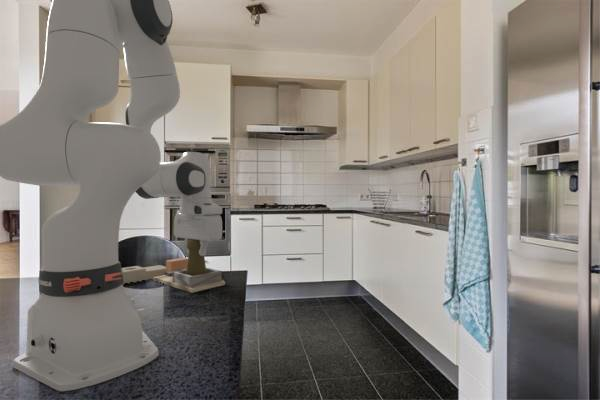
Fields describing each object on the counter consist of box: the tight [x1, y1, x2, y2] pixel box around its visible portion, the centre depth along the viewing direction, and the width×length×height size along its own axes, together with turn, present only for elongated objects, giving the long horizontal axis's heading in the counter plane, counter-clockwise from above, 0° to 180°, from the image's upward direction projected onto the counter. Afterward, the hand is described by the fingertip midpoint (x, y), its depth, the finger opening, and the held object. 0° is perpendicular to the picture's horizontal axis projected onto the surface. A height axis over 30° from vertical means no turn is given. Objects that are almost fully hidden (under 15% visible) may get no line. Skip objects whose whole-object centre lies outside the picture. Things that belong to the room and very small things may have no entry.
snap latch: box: [165, 257, 188, 271], centre depth 107 cm, size 3×6×3 cm, turn 140°
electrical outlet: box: [121, 264, 168, 285], centre depth 108 cm, size 7×4×18 cm
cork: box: [185, 239, 207, 276], centre depth 100 cm, size 6×6×11 cm
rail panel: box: [152, 267, 226, 294], centre depth 103 cm, size 22×11×4 cm, turn 50°
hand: (196, 254), depth 100 cm, fingers closed on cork, 4 cm apart
